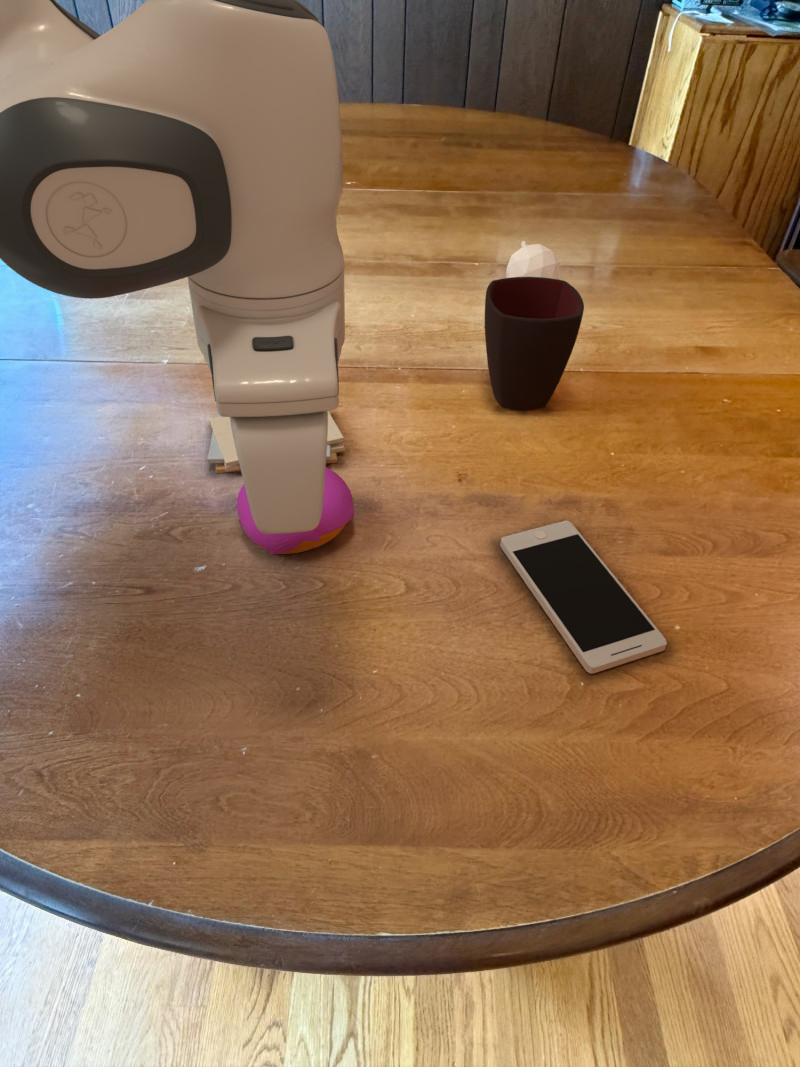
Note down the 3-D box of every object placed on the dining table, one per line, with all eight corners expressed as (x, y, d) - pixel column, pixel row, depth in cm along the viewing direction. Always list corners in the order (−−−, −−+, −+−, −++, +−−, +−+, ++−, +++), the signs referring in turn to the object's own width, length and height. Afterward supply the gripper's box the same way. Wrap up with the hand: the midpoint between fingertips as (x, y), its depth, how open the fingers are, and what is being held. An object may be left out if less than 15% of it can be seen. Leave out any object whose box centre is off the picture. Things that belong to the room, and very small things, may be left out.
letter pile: (209, 480, 76) (206, 464, 74) (210, 420, 83) (207, 405, 82) (347, 468, 77) (346, 452, 76) (336, 410, 85) (335, 395, 83)
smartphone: (567, 525, 72) (569, 518, 71) (666, 650, 61) (669, 642, 60) (498, 544, 70) (499, 536, 69) (588, 676, 59) (590, 668, 58)
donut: (231, 500, 73) (225, 462, 70) (334, 479, 76) (333, 441, 73) (253, 574, 66) (247, 535, 63) (367, 548, 69) (366, 510, 66)
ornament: (509, 310, 103) (490, 250, 101) (523, 307, 109) (506, 251, 108) (559, 291, 99) (541, 229, 98) (571, 289, 106) (554, 231, 104)
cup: (481, 422, 84) (492, 320, 76) (468, 356, 94) (476, 260, 86) (572, 421, 84) (593, 320, 76) (549, 356, 94) (565, 260, 86)
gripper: (216, 244, 53) (237, 415, 62) (213, 409, 38) (242, 601, 47) (309, 241, 54) (316, 410, 63) (342, 402, 39) (345, 591, 48)
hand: (284, 493), depth 55 cm, fingers closed
